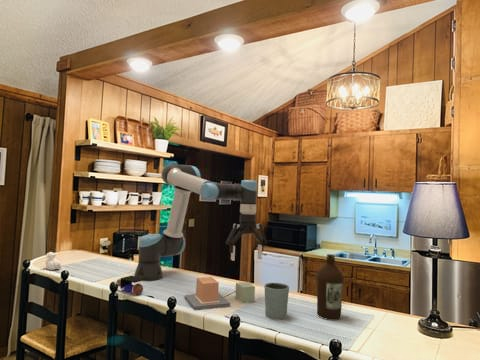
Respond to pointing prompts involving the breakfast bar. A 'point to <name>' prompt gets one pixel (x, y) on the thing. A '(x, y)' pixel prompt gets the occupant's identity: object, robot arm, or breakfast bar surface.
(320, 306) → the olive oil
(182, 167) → the robot arm
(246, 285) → the sage brick
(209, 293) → the terracotta brick
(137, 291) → the figurine character
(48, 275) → the breakfast bar surface
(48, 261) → the duck figurine
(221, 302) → the slate board
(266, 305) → the grey cup
